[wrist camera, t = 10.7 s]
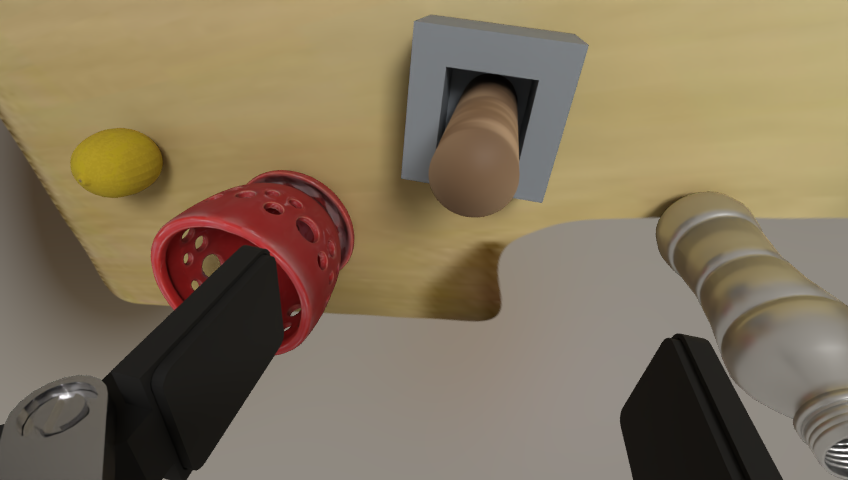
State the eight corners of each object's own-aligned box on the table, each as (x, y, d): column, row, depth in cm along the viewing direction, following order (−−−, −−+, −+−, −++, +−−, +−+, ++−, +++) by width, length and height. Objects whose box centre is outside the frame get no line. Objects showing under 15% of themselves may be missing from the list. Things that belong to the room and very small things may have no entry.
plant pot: (328, 138, 35) (255, 199, 25) (382, 262, 41) (341, 352, 31) (210, 173, 39) (107, 238, 29) (275, 282, 45) (208, 366, 35)
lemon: (184, 181, 40) (119, 220, 34) (130, 165, 40) (55, 201, 34) (178, 127, 37) (106, 158, 31) (121, 110, 37) (36, 137, 31)
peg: (522, 77, 29) (529, 141, 17) (510, 133, 31) (508, 224, 19) (466, 69, 29) (434, 125, 17) (457, 125, 31) (424, 208, 19)
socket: (574, 34, 28) (588, 45, 23) (537, 170, 33) (542, 203, 28) (430, 14, 29) (414, 21, 24) (417, 150, 34) (401, 178, 29)
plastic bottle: (649, 259, 36) (770, 500, 19) (647, 189, 33) (789, 405, 16) (735, 248, 34) (953, 505, 17) (741, 173, 31) (1015, 398, 14)
